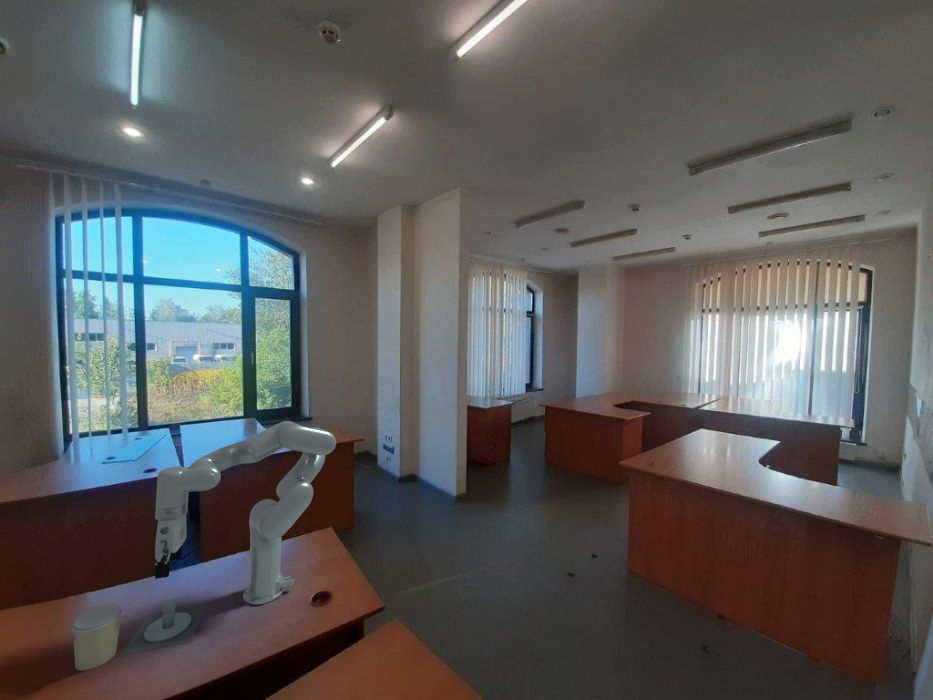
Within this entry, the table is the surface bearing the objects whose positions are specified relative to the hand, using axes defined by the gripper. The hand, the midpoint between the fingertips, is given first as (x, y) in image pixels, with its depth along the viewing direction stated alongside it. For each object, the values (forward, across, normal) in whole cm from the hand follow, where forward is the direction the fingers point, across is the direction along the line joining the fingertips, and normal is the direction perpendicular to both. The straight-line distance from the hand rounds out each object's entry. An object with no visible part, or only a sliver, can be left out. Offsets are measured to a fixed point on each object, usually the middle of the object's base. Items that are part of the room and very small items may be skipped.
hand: (168, 567), depth 110 cm
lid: (+18, 0, 0) cm, 18 cm away
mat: (+19, 0, 0) cm, 19 cm away
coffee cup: (+19, -7, +13) cm, 24 cm away
